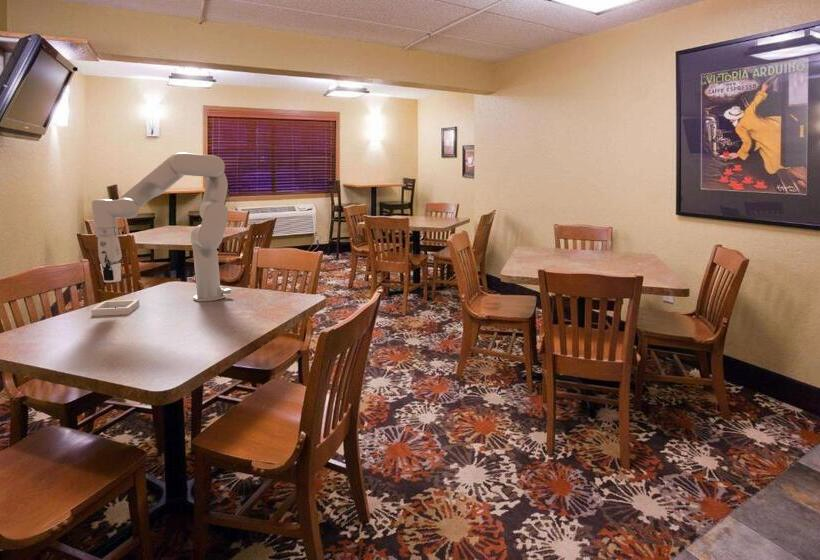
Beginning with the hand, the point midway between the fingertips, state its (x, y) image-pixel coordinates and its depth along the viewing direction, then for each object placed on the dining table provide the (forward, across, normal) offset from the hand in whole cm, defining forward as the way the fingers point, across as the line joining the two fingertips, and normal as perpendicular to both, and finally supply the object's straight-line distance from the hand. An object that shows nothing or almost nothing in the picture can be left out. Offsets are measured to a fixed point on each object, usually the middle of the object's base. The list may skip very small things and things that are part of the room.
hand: (112, 278), depth 190 cm
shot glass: (+1, 0, 0) cm, 1 cm away
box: (+13, 0, 0) cm, 13 cm away
